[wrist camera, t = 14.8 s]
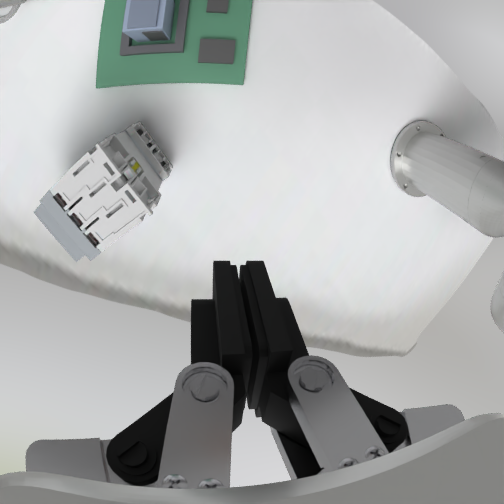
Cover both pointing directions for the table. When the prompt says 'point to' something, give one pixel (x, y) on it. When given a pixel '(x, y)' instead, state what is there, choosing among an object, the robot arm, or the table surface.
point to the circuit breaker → (105, 193)
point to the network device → (8, 0)
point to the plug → (149, 20)
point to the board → (177, 46)
